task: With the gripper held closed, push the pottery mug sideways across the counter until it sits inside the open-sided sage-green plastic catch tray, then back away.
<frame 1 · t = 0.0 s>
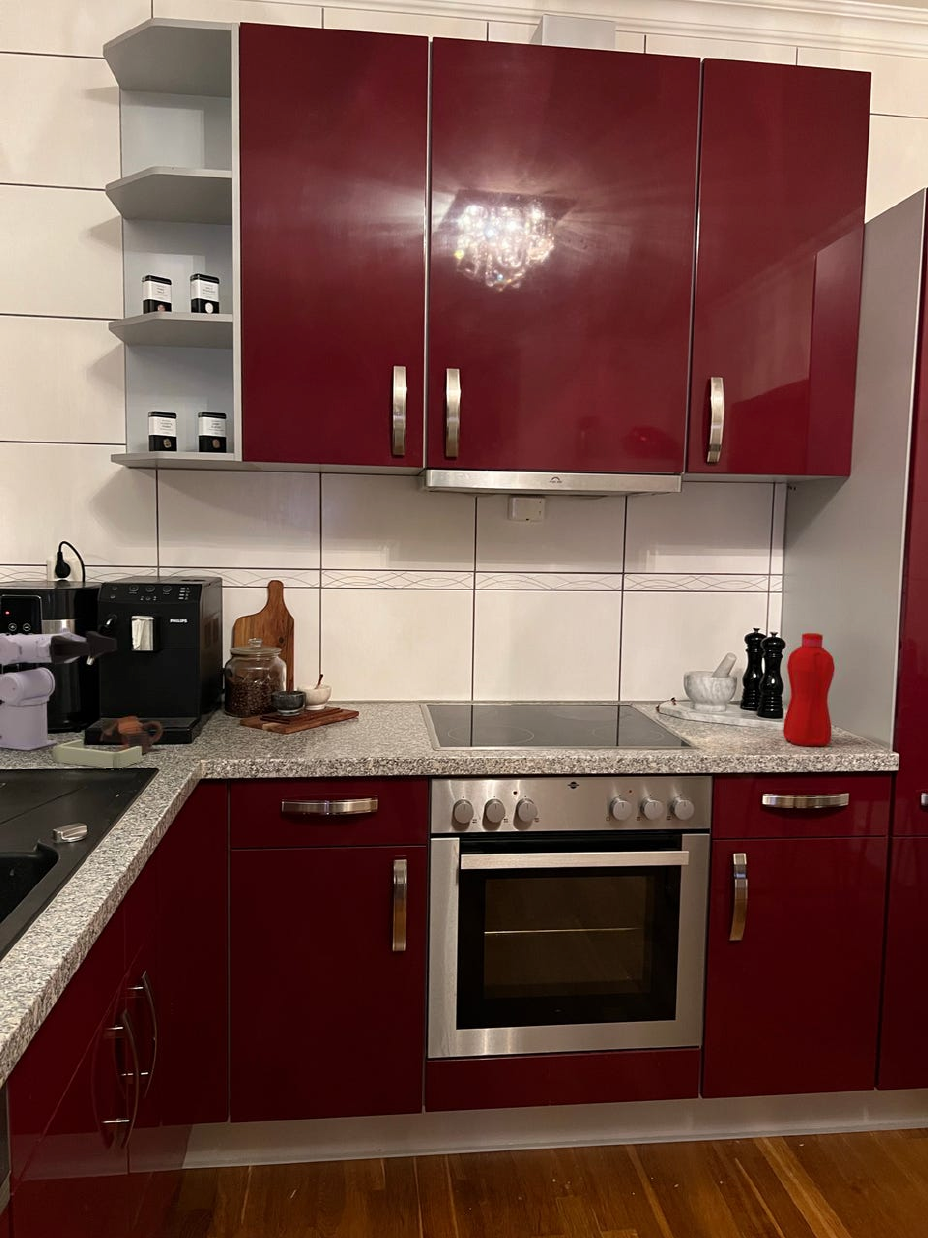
hand: (102, 646, 184), 22 cm above the table, tool horizontal, fingers open, 7 cm apart
catch tray: (97, 761, 180), on the table
water bottle: (804, 743, 213), on the table
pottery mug: (132, 752, 190), on the table
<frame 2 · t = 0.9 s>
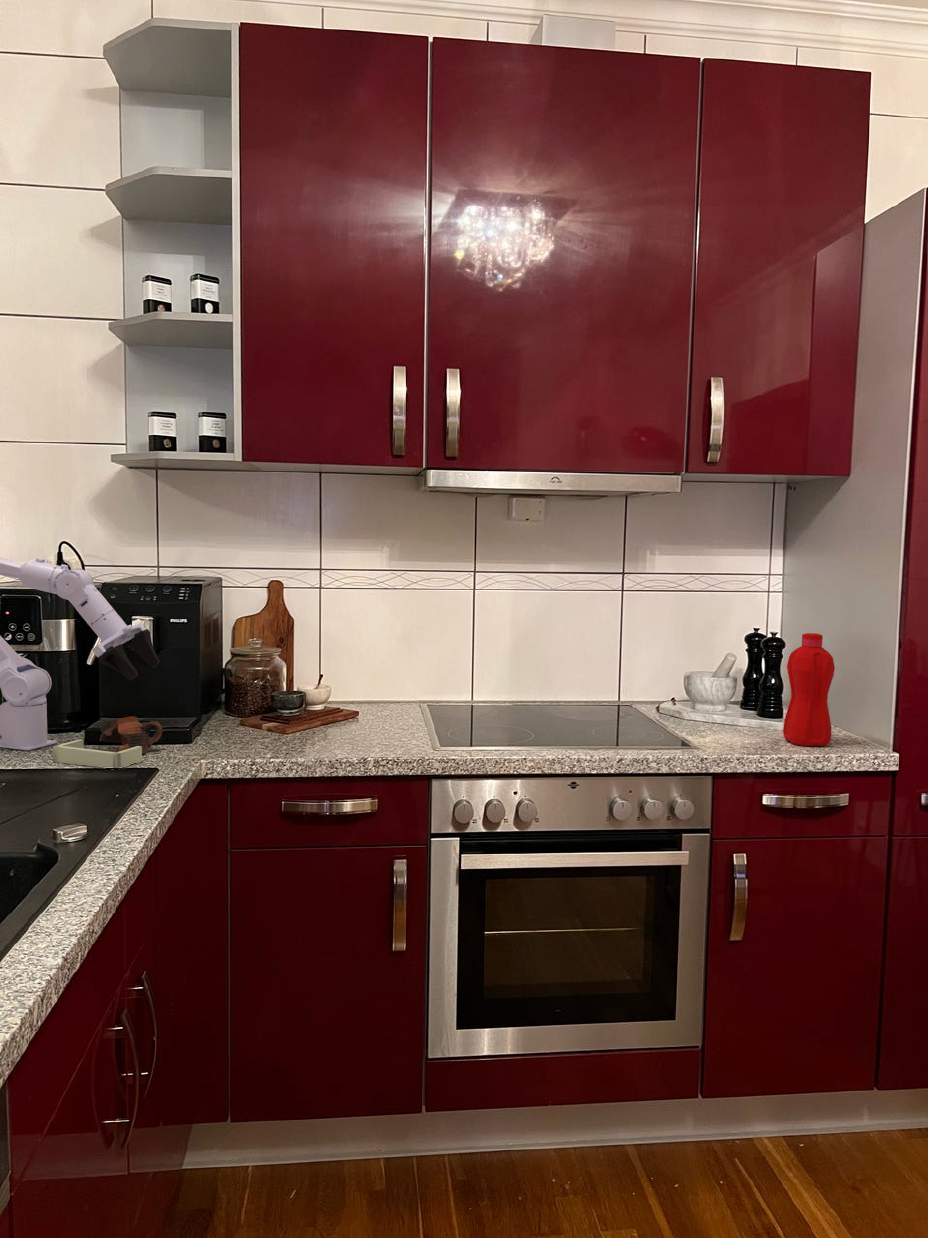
hand: (145, 671, 191), 16 cm above the table, tool tilted 40°, fingers open, 7 cm apart
nothing on the table moved.
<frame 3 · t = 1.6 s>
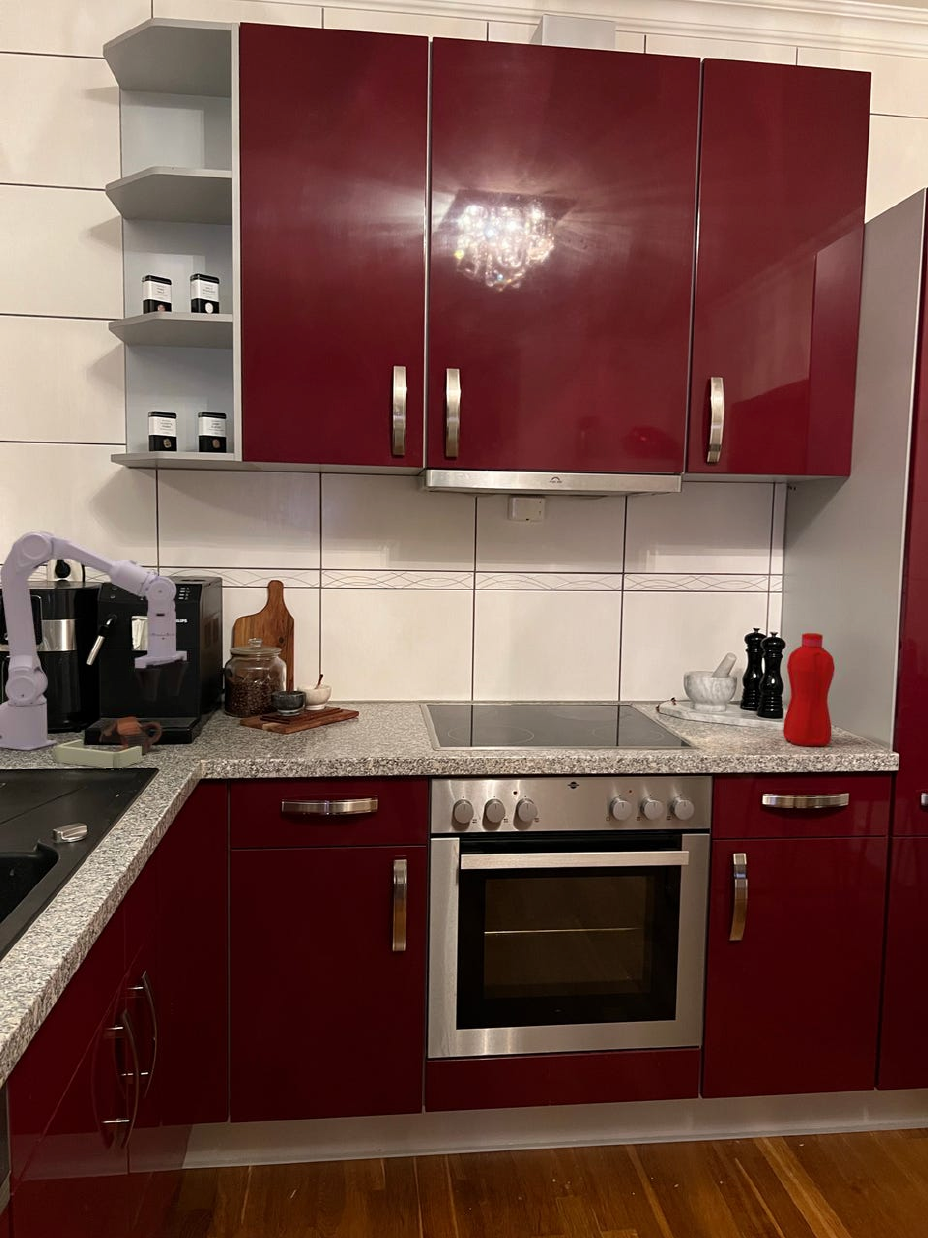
hand: (161, 697, 198), 9 cm above the table, tool pointing down, fingers open, 7 cm apart
nothing on the table moved.
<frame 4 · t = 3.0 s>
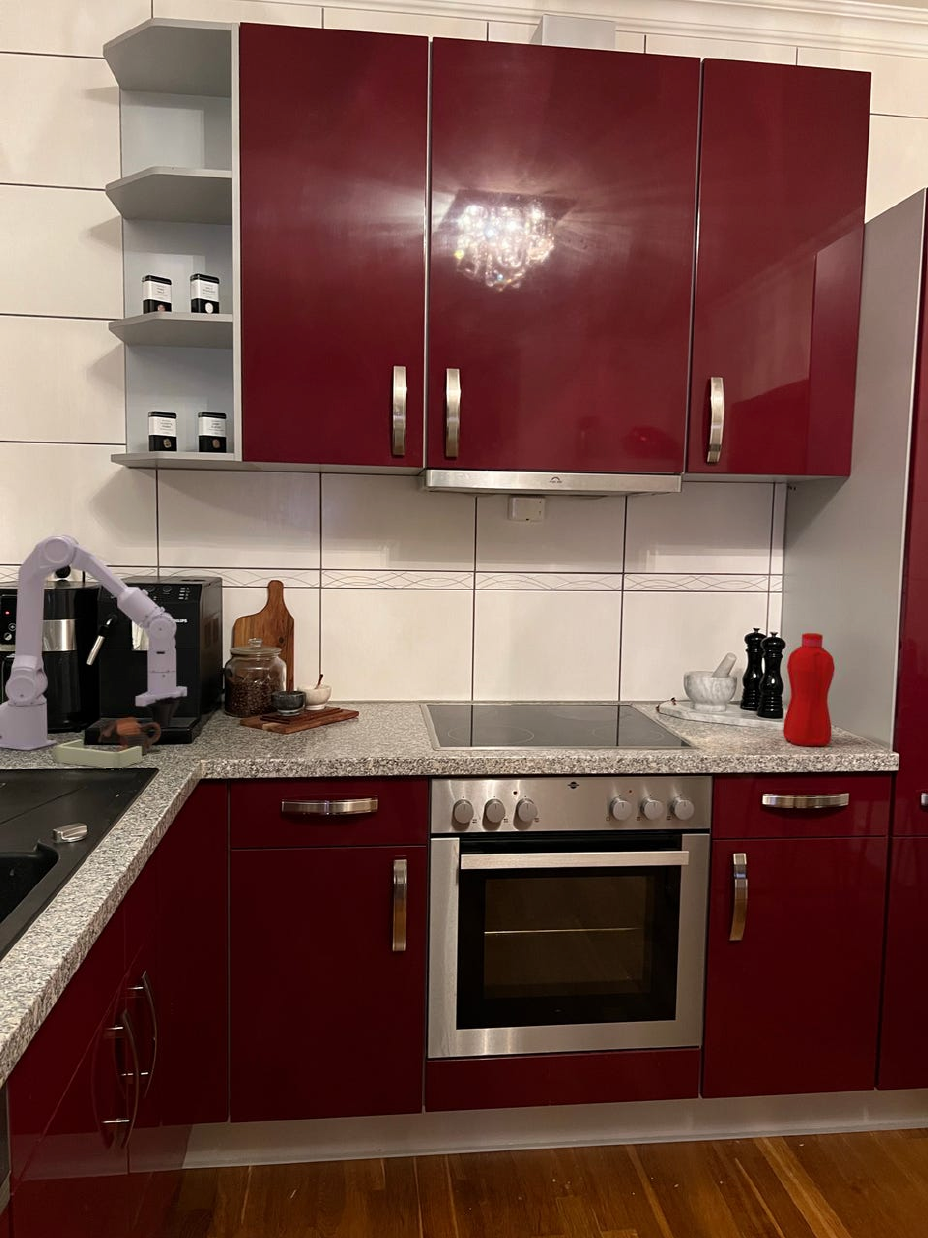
hand: (162, 734, 199), 2 cm above the table, tool pointing down, fingers closed
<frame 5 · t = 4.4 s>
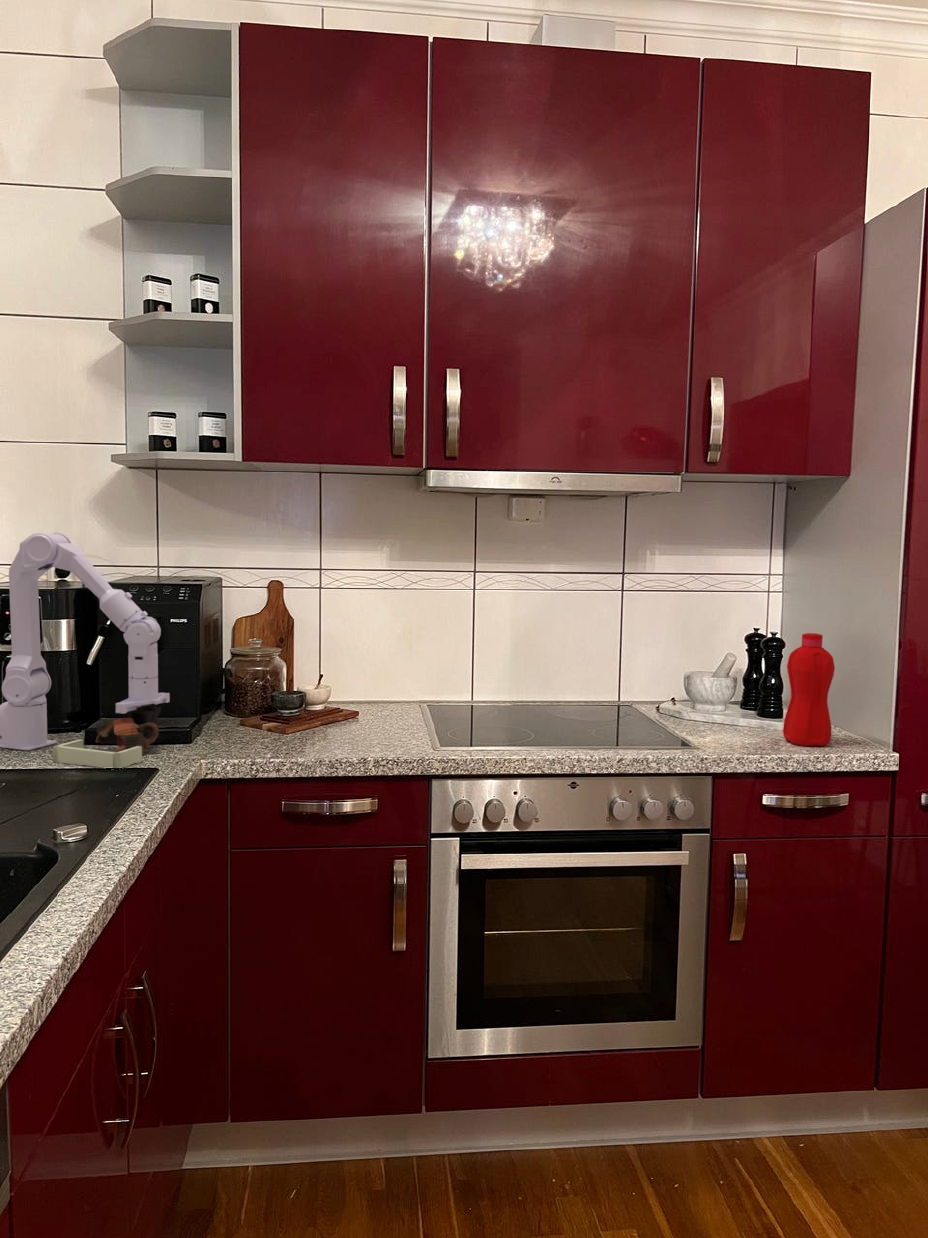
hand: (143, 742, 193), 1 cm above the table, tool pointing down, fingers closed
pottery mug: (127, 754, 188), on the table, touching gripper
everything else where it was.
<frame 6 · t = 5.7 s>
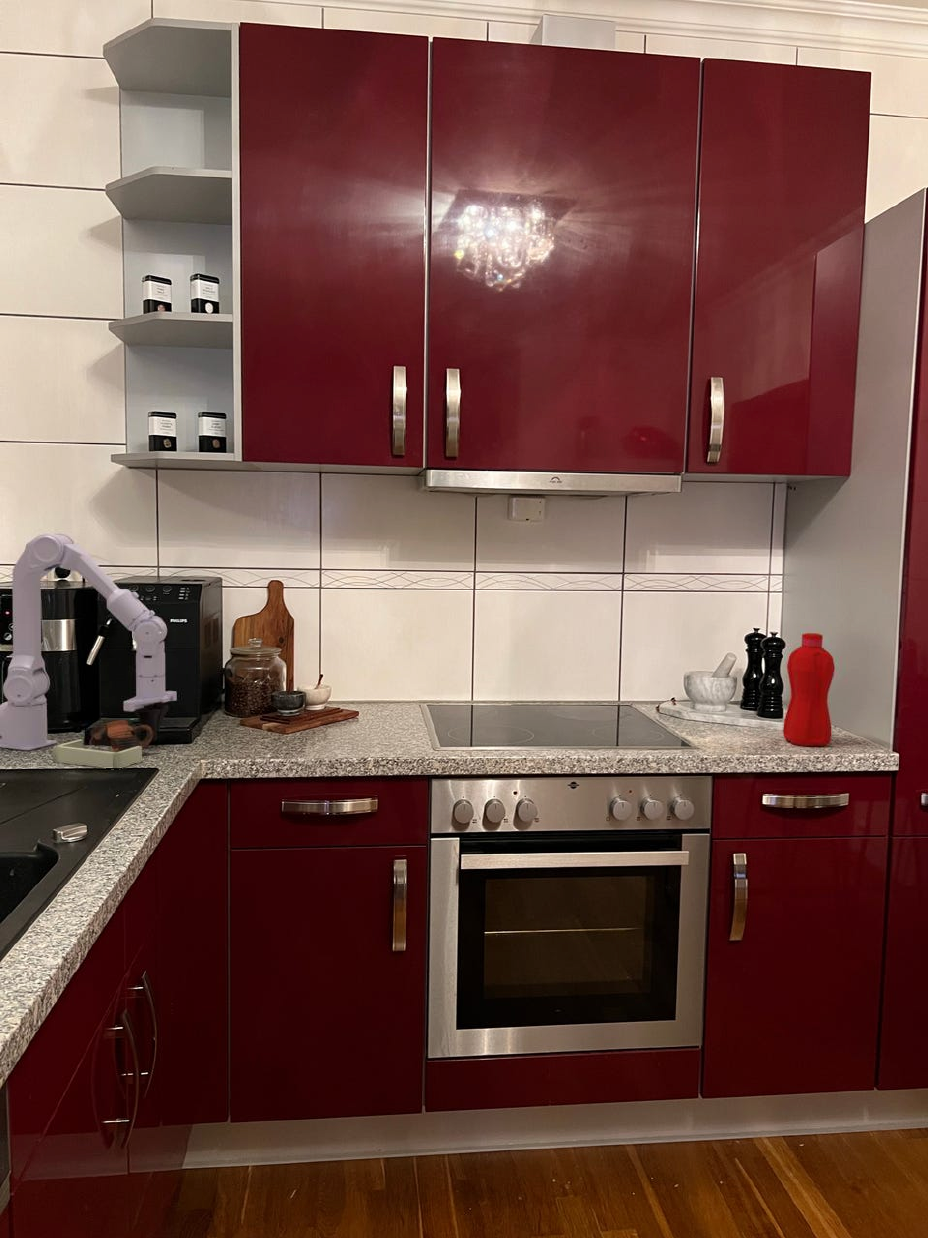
hand: (151, 739, 195), 1 cm above the table, tool pointing down, fingers closed
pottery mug: (121, 757, 186), on the table
everything else where it was.
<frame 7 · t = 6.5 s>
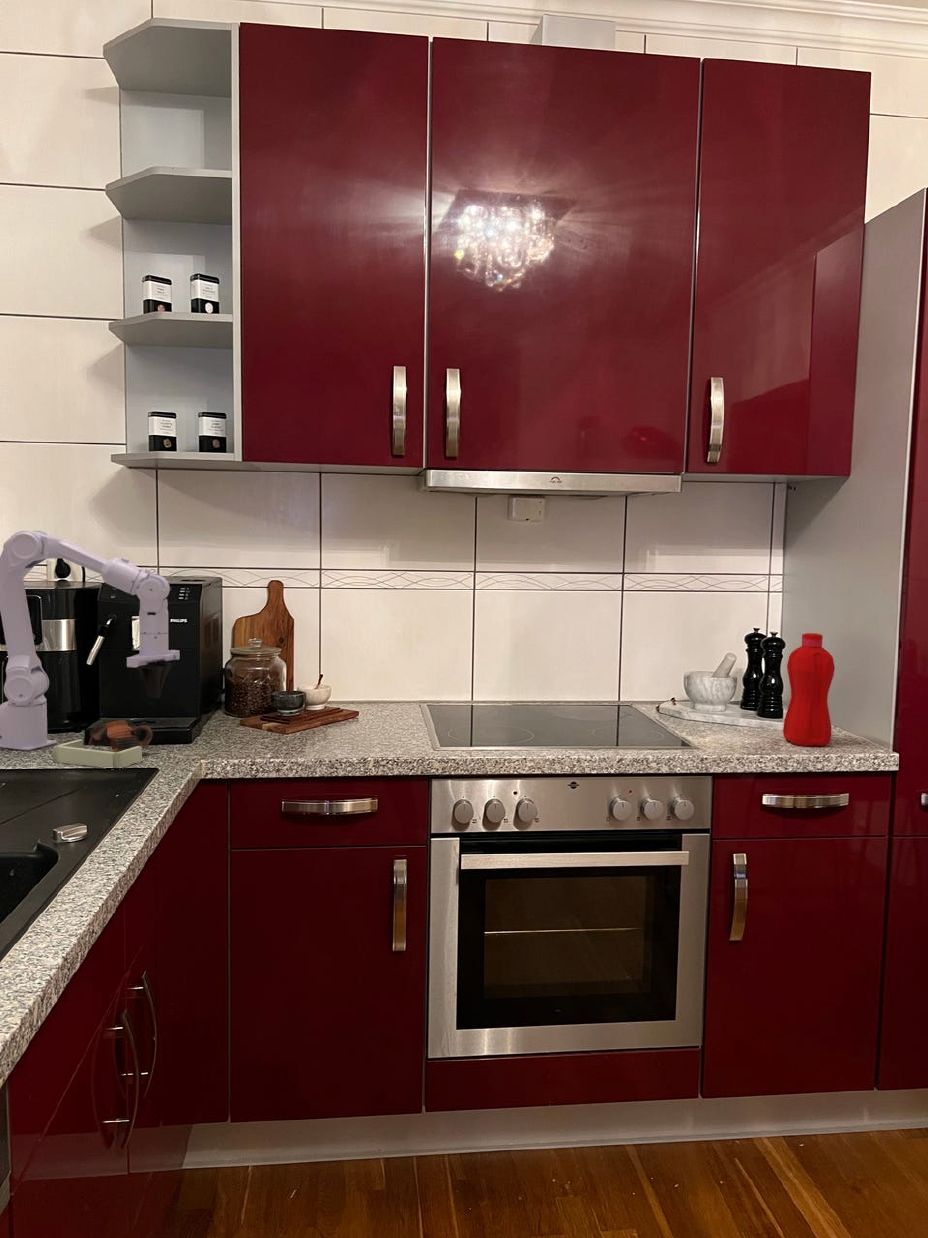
hand: (154, 697, 195), 10 cm above the table, tool pointing down, fingers closed
nothing on the table moved.
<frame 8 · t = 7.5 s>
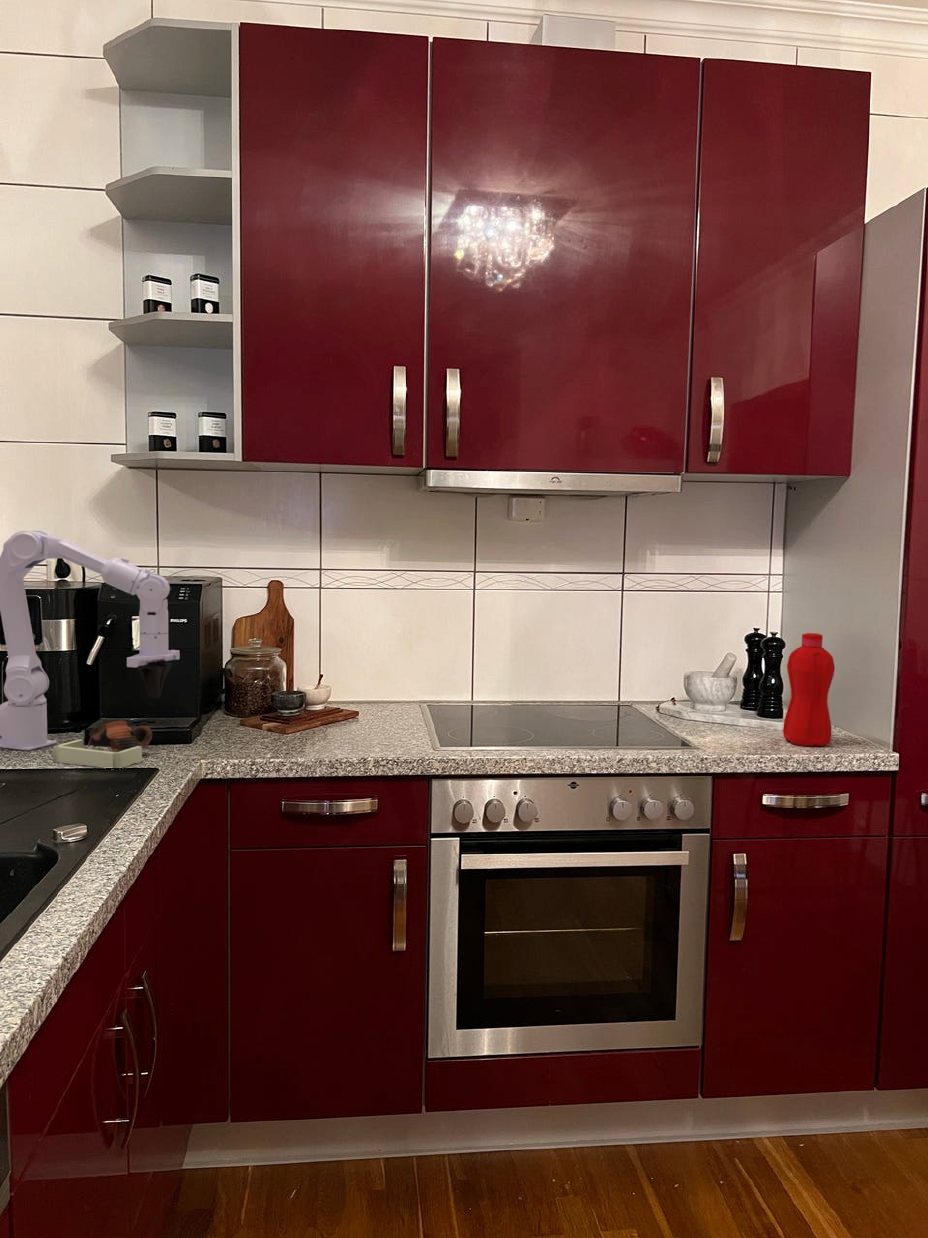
hand: (154, 697, 195), 10 cm above the table, tool pointing down, fingers closed
nothing on the table moved.
at the end: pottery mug inside the target area (3.8 cm from its centre), on the table; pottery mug tilted 0°; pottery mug moved 4.7 cm from its start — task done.
